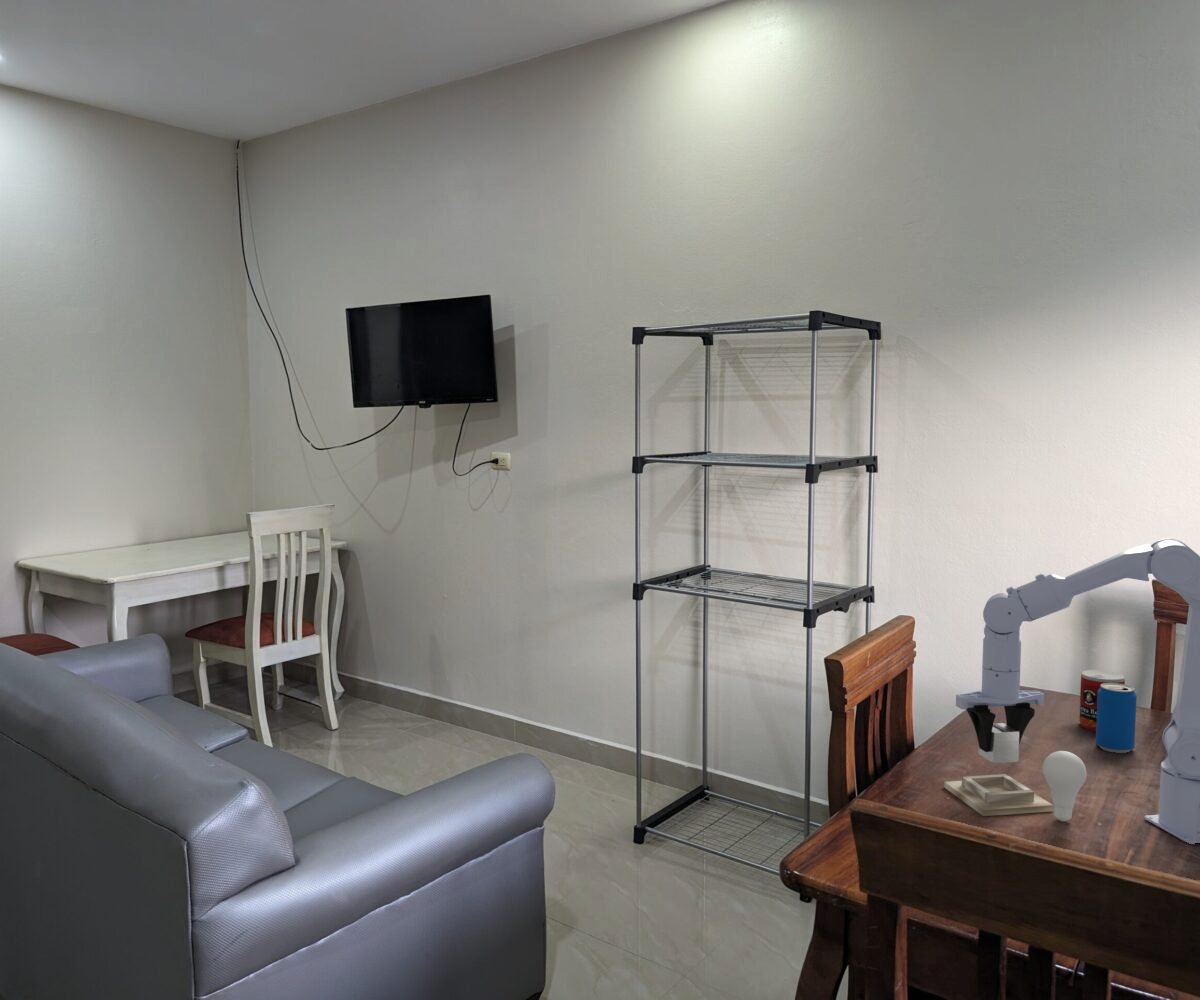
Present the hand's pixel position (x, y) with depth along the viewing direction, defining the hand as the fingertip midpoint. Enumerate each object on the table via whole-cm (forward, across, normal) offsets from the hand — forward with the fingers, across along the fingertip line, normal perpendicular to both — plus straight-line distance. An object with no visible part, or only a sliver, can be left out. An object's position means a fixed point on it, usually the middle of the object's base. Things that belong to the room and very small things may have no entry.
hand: (998, 749), depth 155 cm
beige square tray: (+8, 0, 0) cm, 8 cm away
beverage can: (+9, -36, -19) cm, 42 cm away
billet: (+1, 0, 0) cm, 1 cm away
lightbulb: (+9, -5, +10) cm, 14 cm away
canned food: (+9, -42, -31) cm, 53 cm away
